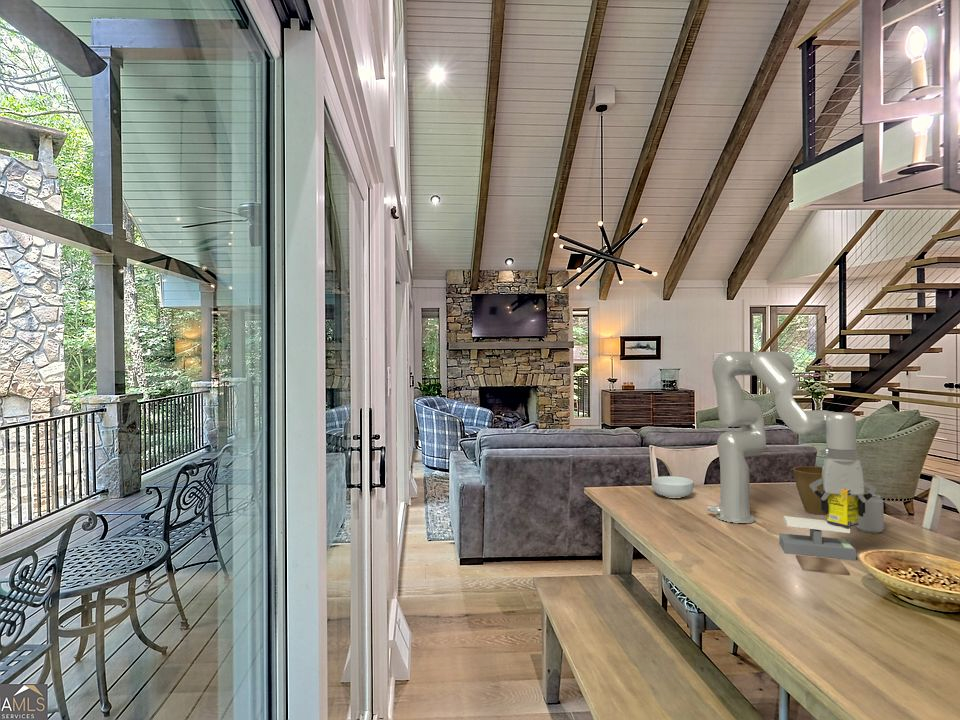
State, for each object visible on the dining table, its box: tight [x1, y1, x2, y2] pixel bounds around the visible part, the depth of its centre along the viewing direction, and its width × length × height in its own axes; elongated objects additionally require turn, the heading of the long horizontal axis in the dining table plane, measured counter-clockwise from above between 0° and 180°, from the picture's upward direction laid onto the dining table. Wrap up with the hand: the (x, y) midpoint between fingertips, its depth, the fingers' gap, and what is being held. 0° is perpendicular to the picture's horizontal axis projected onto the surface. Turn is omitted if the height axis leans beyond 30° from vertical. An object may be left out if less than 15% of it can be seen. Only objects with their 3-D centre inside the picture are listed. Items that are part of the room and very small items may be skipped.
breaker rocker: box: [783, 515, 851, 534], centre depth 168 cm, size 16×7×2 cm, turn 69°
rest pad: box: [795, 554, 851, 576], centre depth 156 cm, size 11×11×1 cm
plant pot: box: [792, 465, 827, 516], centre depth 211 cm, size 15×15×16 cm
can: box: [855, 492, 885, 534], centre depth 188 cm, size 8×8×12 cm
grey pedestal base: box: [778, 529, 857, 561], centre depth 168 cm, size 18×10×7 cm, turn 70°
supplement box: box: [826, 489, 858, 528], centre depth 165 cm, size 6×6×11 cm
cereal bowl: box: [651, 475, 695, 498], centre depth 236 cm, size 17×17×7 cm
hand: (842, 514), depth 165 cm, fingers closed on supplement box, 8 cm apart
